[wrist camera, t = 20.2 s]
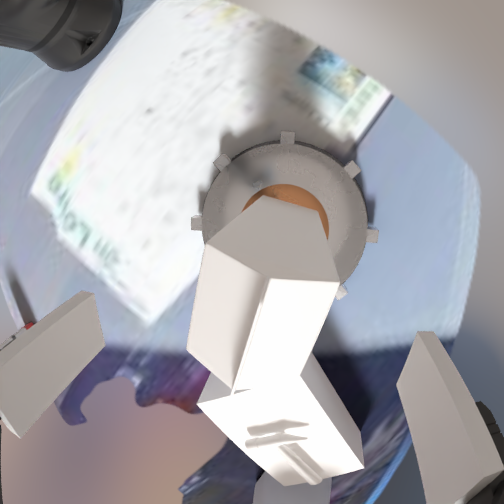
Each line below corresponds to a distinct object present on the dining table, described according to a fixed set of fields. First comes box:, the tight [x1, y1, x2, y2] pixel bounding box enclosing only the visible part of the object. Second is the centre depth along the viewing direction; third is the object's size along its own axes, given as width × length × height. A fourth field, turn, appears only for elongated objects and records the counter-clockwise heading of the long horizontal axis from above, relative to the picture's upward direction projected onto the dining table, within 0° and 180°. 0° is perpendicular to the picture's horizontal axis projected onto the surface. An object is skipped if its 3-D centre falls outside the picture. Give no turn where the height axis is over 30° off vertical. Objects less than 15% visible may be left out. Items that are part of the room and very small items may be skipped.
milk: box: [186, 195, 340, 409], centre depth 20 cm, size 6×6×22 cm
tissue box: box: [197, 351, 364, 486], centre depth 37 cm, size 14×25×11 cm, turn 32°
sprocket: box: [191, 131, 379, 300], centre depth 29 cm, size 20×20×7 cm
